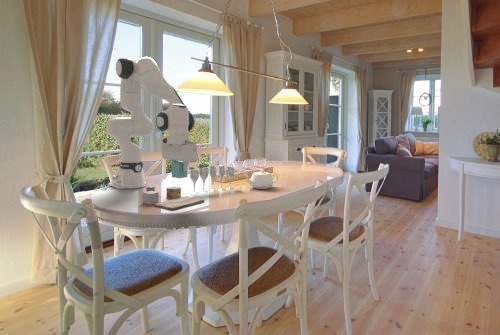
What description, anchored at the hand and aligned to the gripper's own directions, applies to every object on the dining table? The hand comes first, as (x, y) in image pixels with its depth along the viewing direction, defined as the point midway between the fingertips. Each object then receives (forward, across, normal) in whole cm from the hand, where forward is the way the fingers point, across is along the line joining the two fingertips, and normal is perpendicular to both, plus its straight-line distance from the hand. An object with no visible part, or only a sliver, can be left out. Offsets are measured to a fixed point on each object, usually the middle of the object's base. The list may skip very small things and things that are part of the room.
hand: (179, 170), depth 159 cm
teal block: (+3, 0, 0) cm, 3 cm away
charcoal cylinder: (+16, +21, 0) cm, 26 cm away
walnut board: (+16, 0, 0) cm, 16 cm away
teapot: (+16, -7, -56) cm, 59 cm away
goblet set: (+16, +8, -32) cm, 37 cm away
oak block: (+16, +12, -7) cm, 21 cm away
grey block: (+16, +12, +7) cm, 21 cm away
